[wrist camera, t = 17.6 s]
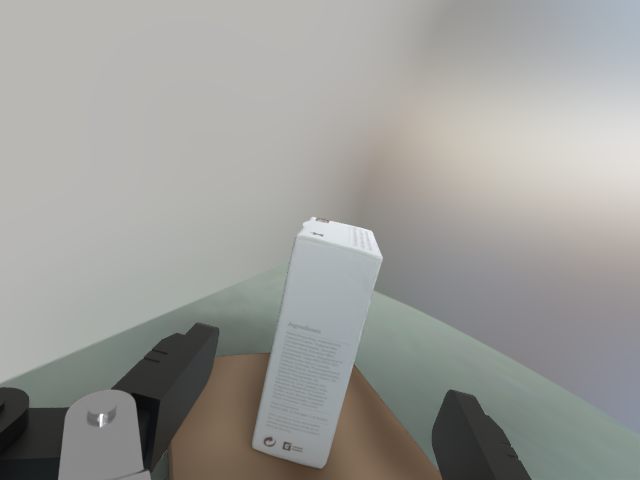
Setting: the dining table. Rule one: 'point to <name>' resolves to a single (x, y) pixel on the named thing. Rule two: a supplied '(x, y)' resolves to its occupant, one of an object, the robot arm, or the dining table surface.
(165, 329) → the dining table surface
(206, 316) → the dining table surface
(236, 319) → the dining table surface
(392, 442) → the walnut board
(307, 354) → the skincare box
